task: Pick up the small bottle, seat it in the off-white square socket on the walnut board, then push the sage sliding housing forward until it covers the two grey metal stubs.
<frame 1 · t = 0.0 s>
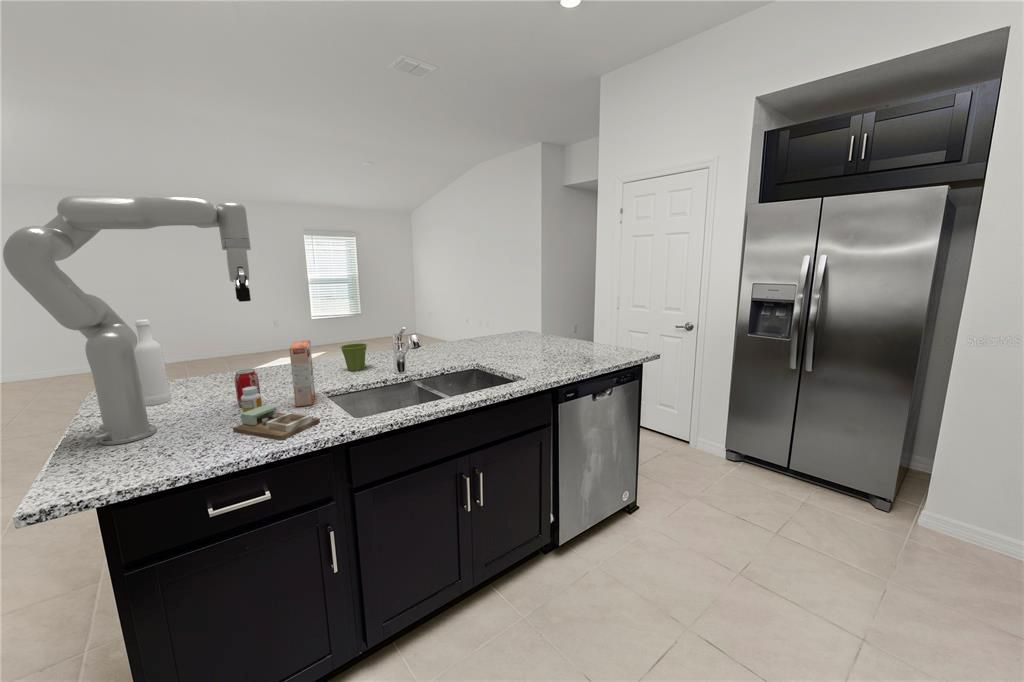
hand: (243, 300, 135), 37 cm above the countertop, tool pointing down, fingers open, 9 cm apart
soda can: (250, 404, 150), on the countertop
supplement bottle: (253, 417, 137), on the countertop
plant pot: (356, 370, 196), on the countertop
board: (277, 427, 128), on the countertop
housing: (259, 414, 130), point 3 cm above the countertop, slide at 0.0 cm
bottle: (157, 402, 154), on the countertop
cracker box: (306, 401, 153), on the countertop
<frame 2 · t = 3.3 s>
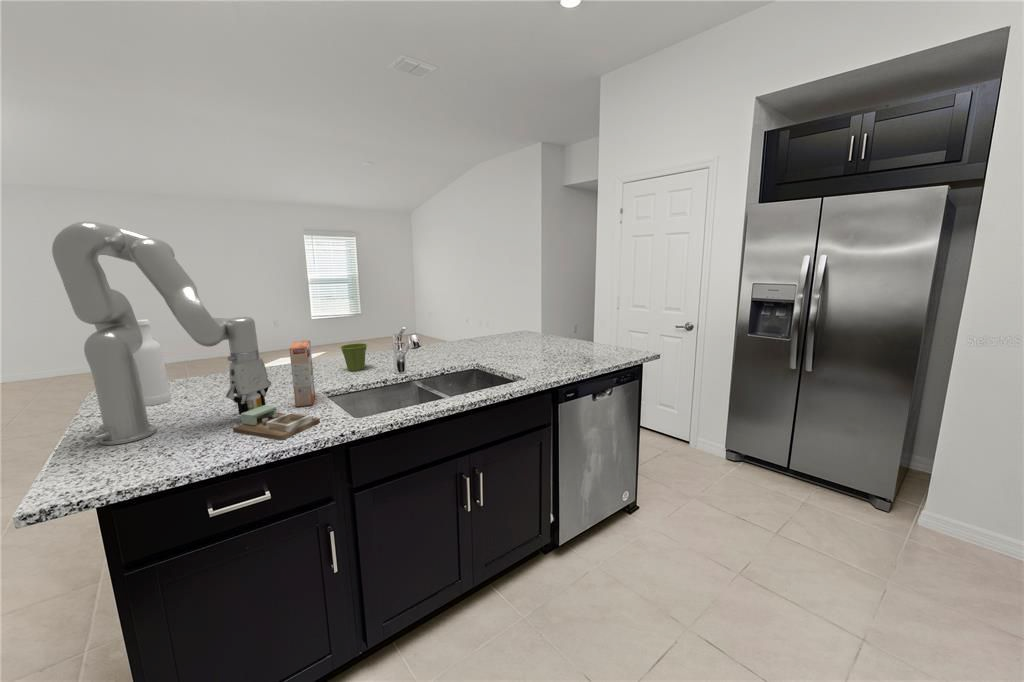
hand: (252, 411, 137), 2 cm above the countertop, tool pointing down, fingers closed on supplement bottle, 5 cm apart
supplement bottle: (253, 417, 137), on the countertop, touching gripper
everything else where it was.
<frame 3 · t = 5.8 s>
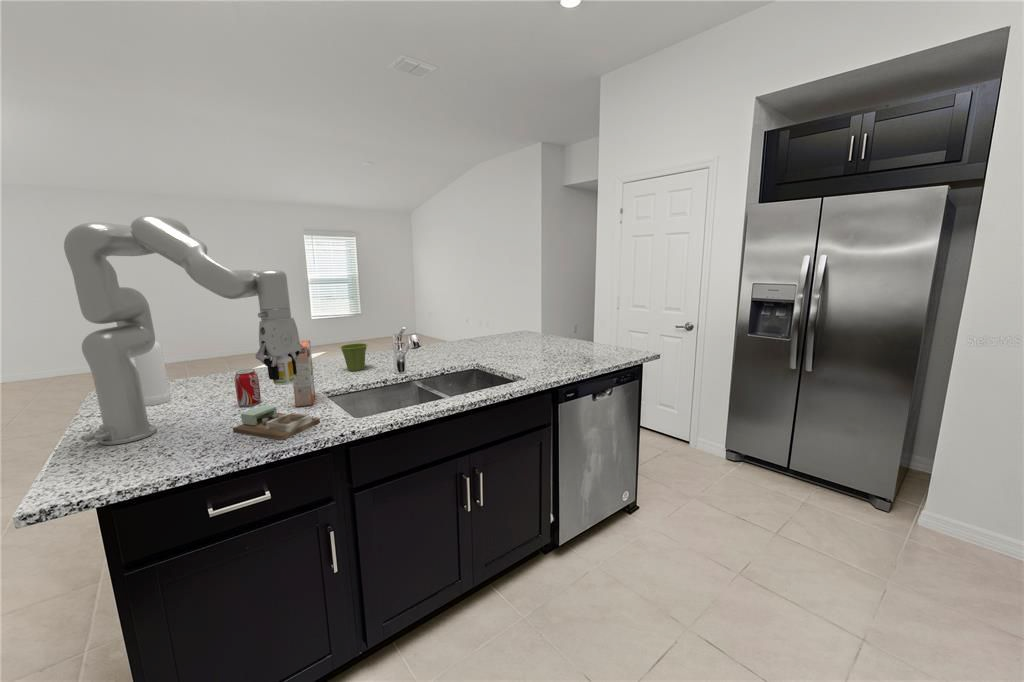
hand: (283, 376, 124), 16 cm above the countertop, tool pointing down, fingers closed on supplement bottle, 5 cm apart
supplement bottle: (284, 383, 124), point 14 cm above the countertop, touching gripper
everything else where it was.
when the fingers open (4 cm above the countertop, at t = 8.4 s): supplement bottle stays where it is, resting on board.
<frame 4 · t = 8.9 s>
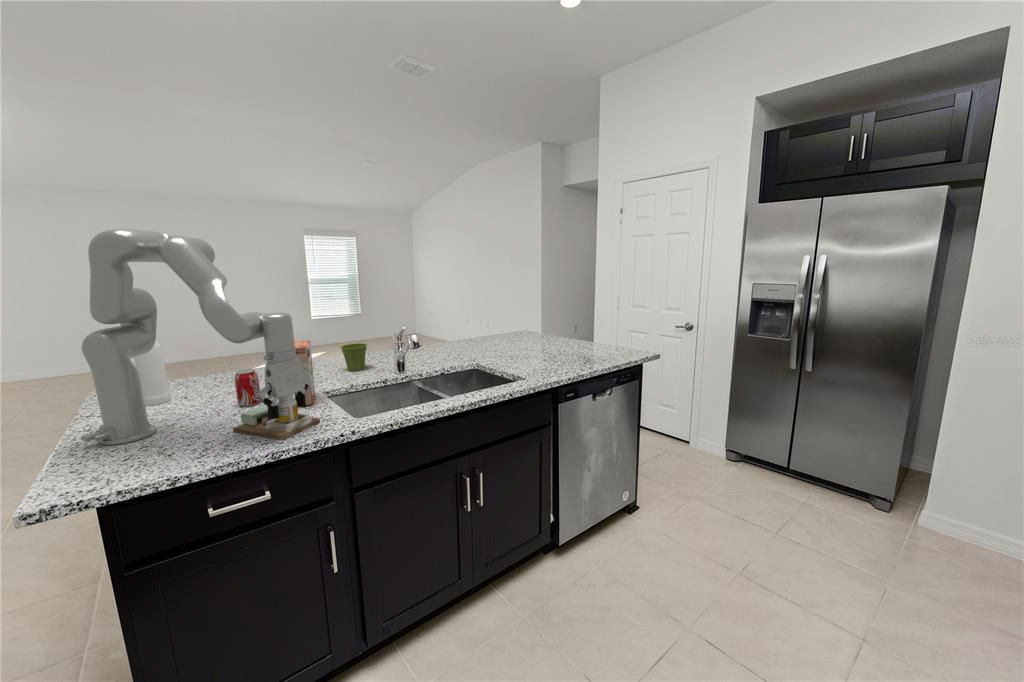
hand: (288, 412, 126), 5 cm above the countertop, tool pointing down, fingers open, 9 cm apart
supplement bottle: (289, 425, 126), point 1 cm above the countertop, touching board
everything else where it was.
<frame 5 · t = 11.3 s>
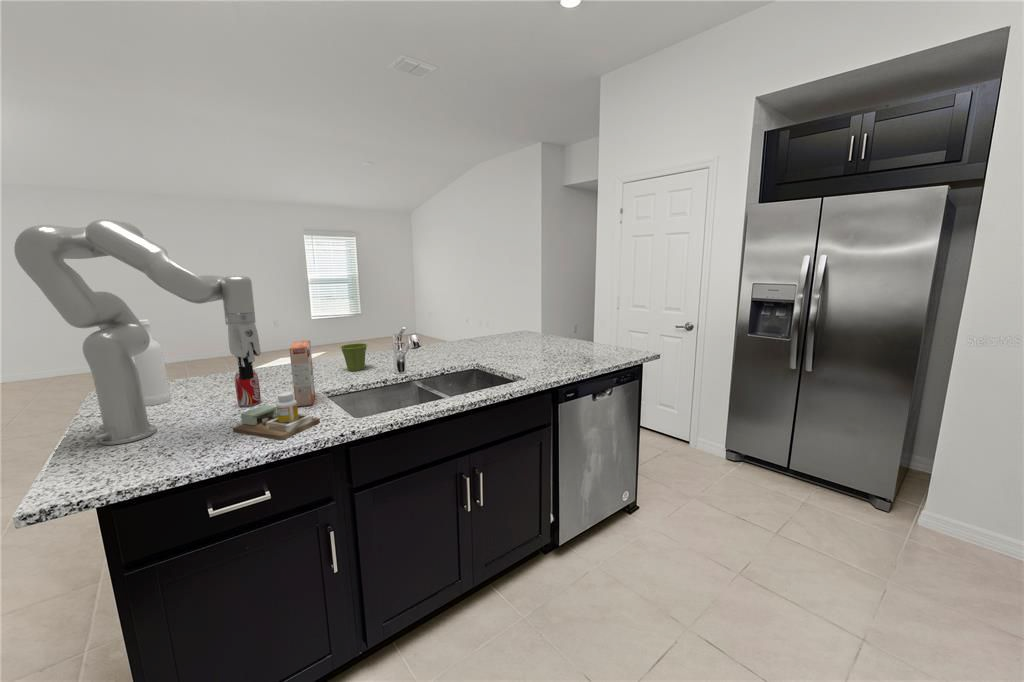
hand: (246, 378, 129), 14 cm above the countertop, tool pointing down, fingers closed
nothing on the countertop moved.
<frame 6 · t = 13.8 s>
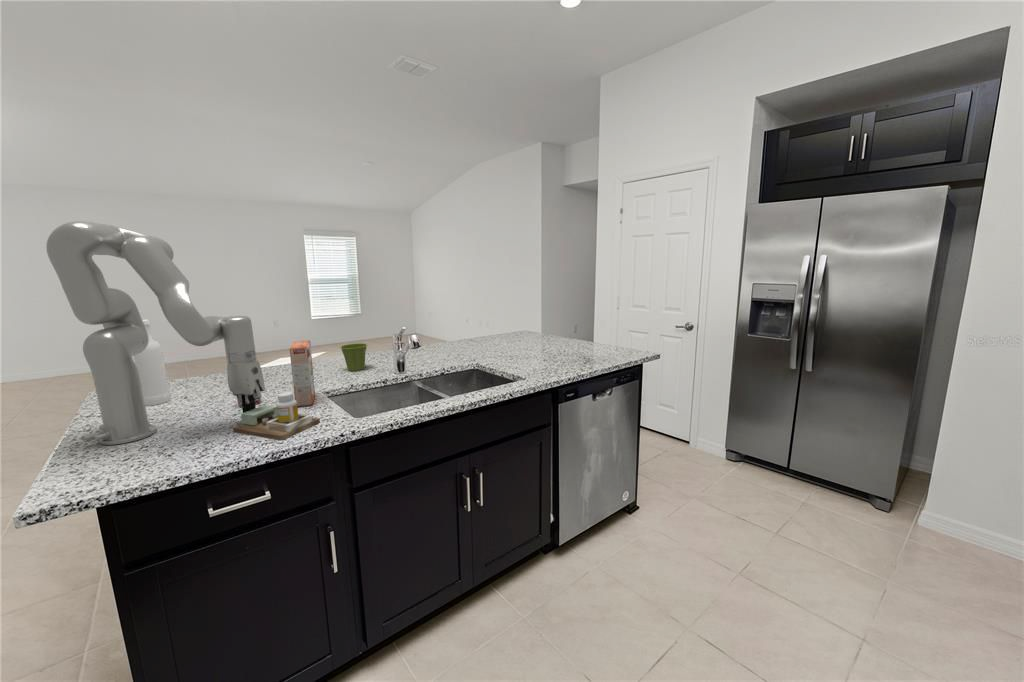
hand: (249, 414, 132), 3 cm above the countertop, tool pointing down, fingers closed
housing: (259, 414, 130), point 3 cm above the countertop, slide at 0.1 cm, touching gripper
everything else where it was.
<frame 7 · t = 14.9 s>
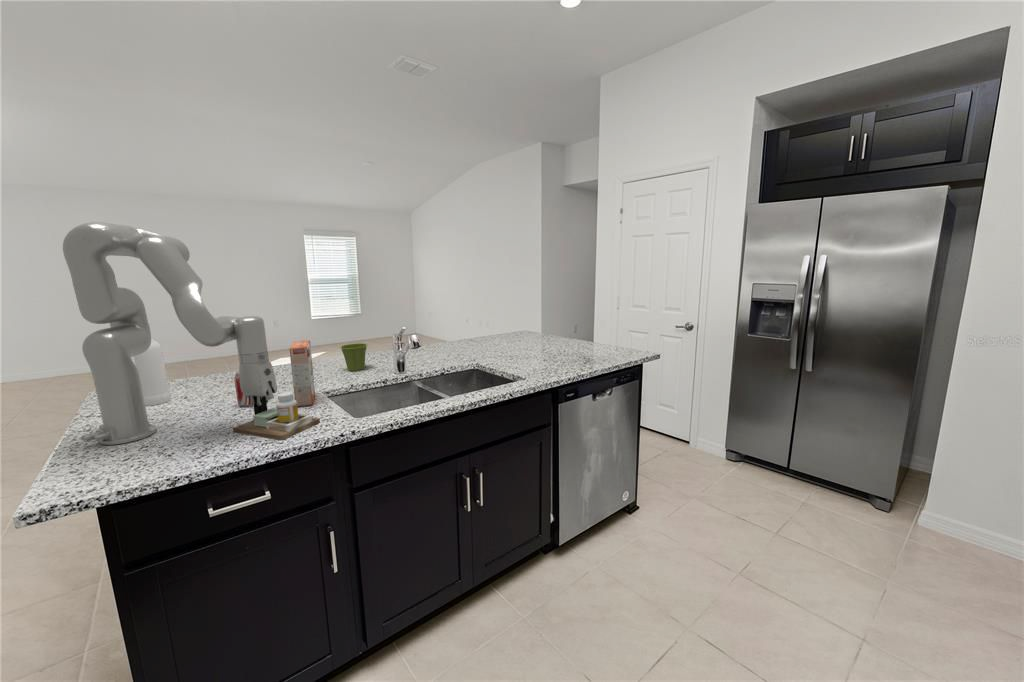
hand: (261, 416, 130), 3 cm above the countertop, tool pointing down, fingers closed
housing: (271, 416, 128), point 3 cm above the countertop, slide at 5.1 cm, touching gripper
everything else where it was.
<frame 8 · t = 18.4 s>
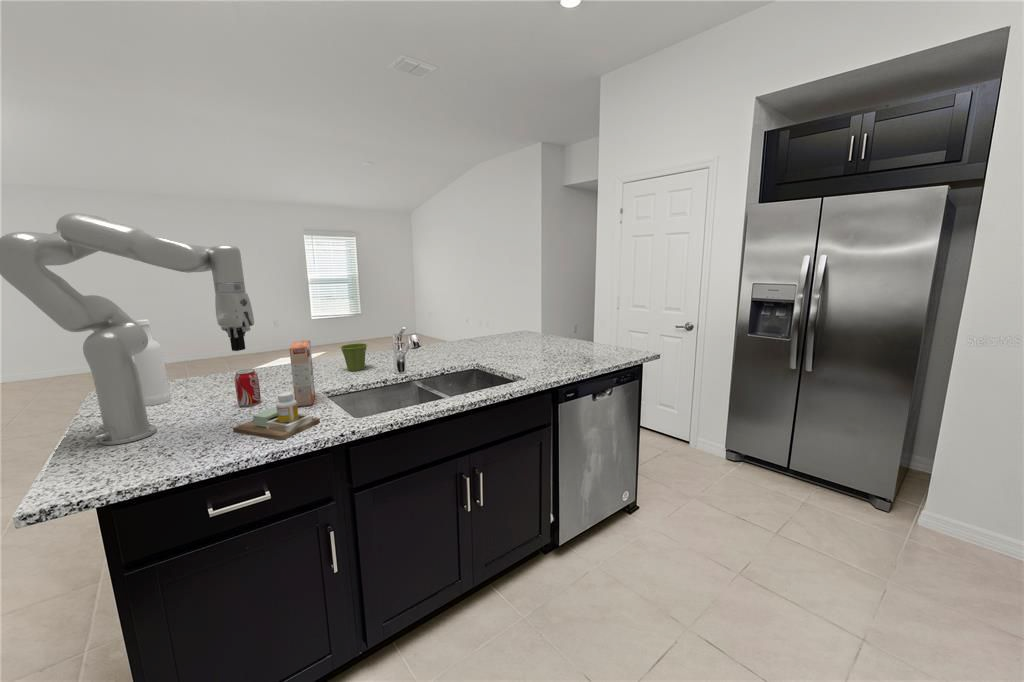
hand: (238, 349, 128), 23 cm above the countertop, tool pointing down, fingers closed
housing: (271, 416, 128), point 3 cm above the countertop, slide at 5.0 cm
everything else where it was.
at the end: supplement bottle 0.2 cm from the target spot on the board, point 1.0 cm above the board's base; supplement bottle tilted 0°; housing slide at 5.0 cm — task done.
